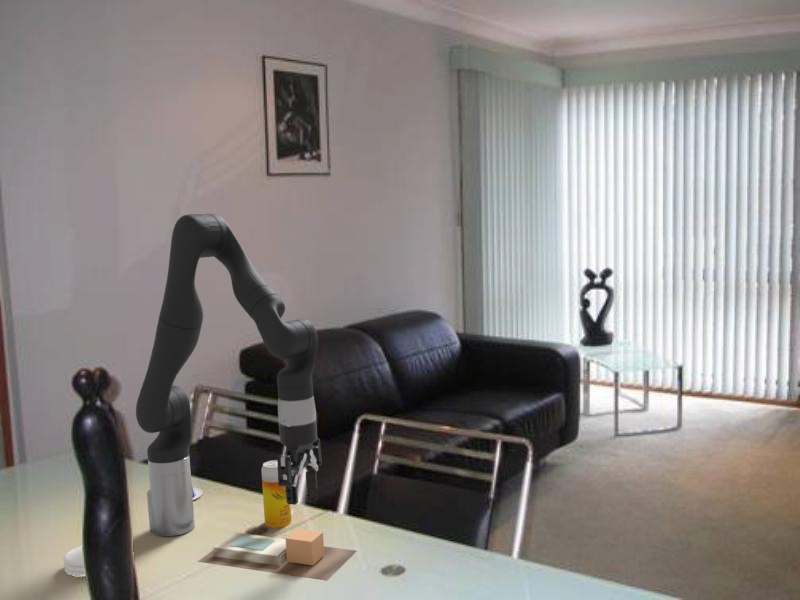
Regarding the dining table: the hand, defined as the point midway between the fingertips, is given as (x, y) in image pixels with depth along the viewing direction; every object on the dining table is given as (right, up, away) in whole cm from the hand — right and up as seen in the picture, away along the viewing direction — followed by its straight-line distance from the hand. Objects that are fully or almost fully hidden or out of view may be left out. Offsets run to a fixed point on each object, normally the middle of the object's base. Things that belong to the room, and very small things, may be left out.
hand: (302, 496), depth 171 cm
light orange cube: (0, -13, +2) cm, 13 cm away
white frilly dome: (-45, -16, +5) cm, 48 cm away
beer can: (-8, -12, +22) cm, 27 cm away
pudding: (-37, -11, +44) cm, 59 cm away
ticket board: (-6, -14, +4) cm, 16 cm away
